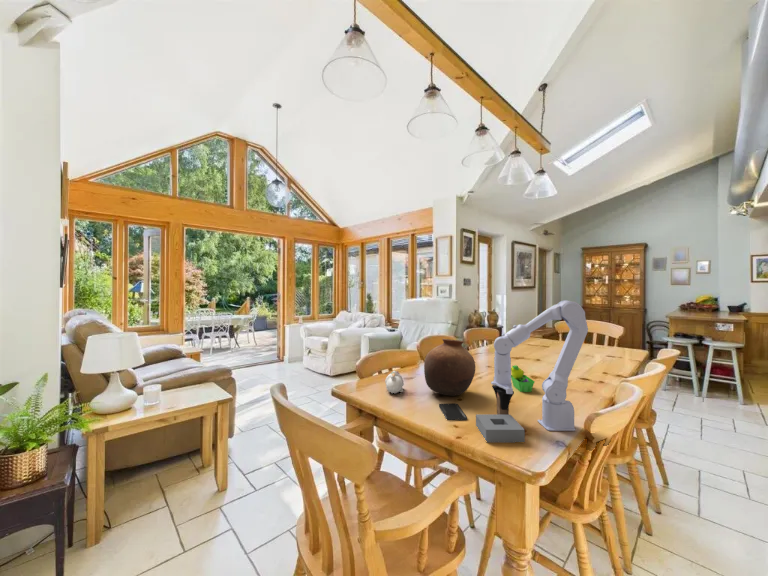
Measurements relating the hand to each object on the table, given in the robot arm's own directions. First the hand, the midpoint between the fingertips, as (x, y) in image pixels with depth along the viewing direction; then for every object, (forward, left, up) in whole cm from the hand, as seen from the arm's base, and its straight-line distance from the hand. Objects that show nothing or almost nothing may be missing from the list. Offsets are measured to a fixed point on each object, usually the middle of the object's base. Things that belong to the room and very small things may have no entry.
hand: (502, 407), depth 119 cm
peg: (0, 0, -3) cm, 3 cm away
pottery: (+14, -29, -5) cm, 33 cm away
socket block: (+5, +11, -5) cm, 13 cm away
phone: (+17, -7, -5) cm, 19 cm away
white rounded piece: (+39, -33, -5) cm, 51 cm away
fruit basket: (-21, -36, -5) cm, 42 cm away
